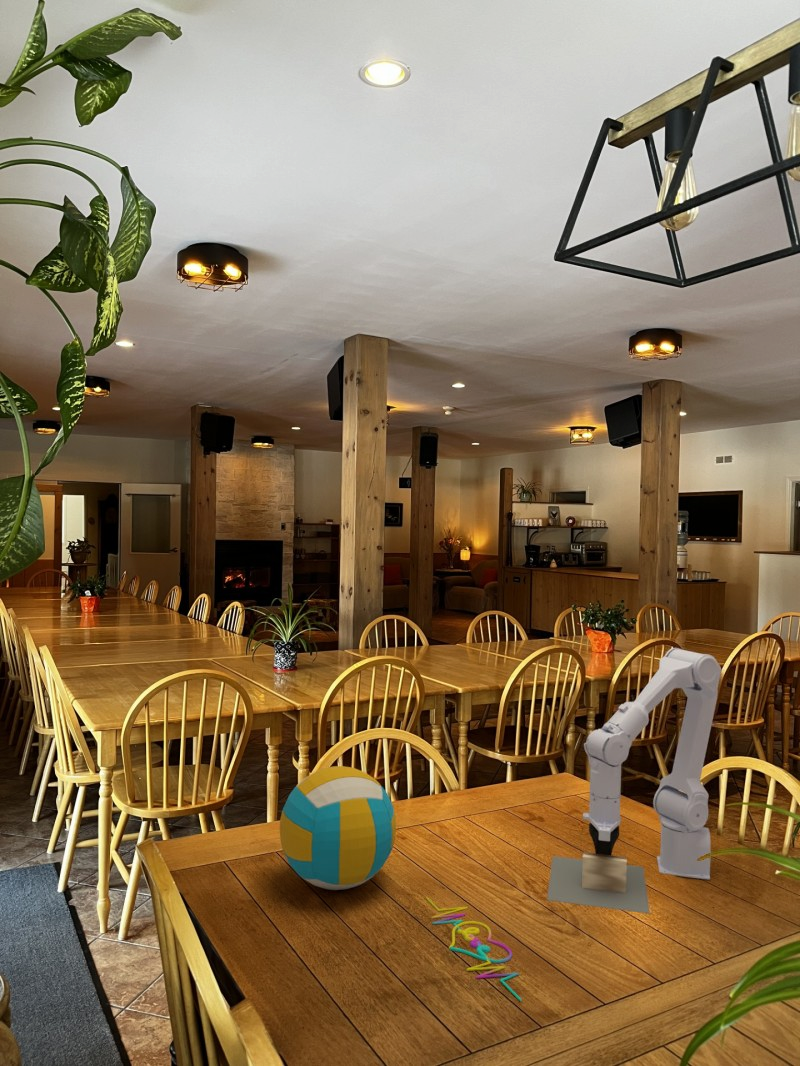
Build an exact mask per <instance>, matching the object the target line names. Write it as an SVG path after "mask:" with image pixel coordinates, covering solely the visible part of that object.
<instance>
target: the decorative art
mask: <svg viewBox="0 0 800 1066" xmlns="http://www.w3.org/2000/svg"><path fill="white" fill-rule="evenodd" d="M425 899H426V900H427V902H429V903H430V904H431V905H432V907H433V908H434V909H436V911H437V912H444V913H439V914H437V915H433V916H431V917H430V918H431V919H432V920H433V919H434V920H435V919H440V920H436V921H432V922H431V926H432V925H444V924H445V925H446V924H452V925H453V929H452V931H451V944H450V945H449V947H448V950H450V951H453V952H458V953H462V954H465V955H467V956H471V957H473V958H475V959H478V960H480V961H483V962H484V963H481V964H478V965H474V966H472V967H467V968H466V969H465V971H466V972H474V971H486V972H484V973H480V974H479V975H476V976H475V977H474V978H475V980H476V979H477V980H478V979H489V978H498V977H499V978H500V977H503V978H501V979H499V981H500V983H501V984H502V985H503V986H504V987H506V988H507V990H508V991H509V992H510V993H512V995H513V996H514V997H515V998H516V999H517V1000H518V1001H520V1002H522V1001H523V1000H522V998H521V997H520V996H519V995H518V994H517V993H516V992H515V991H514V990H513V989H512V988H511V987H510V986H509V984H507V983H506V982H505V981H507V980H509V979H513V978H514V977H517V976H519V975H520V972H510V973H509V972H508V973H497V974H493V973H495V972H499V971H502V970H504V969H505V967H506V966H504V965H500V966H498V965H497V966H489V965H491V964H502V963H507V962H509V961H510V960H511V959H512V957H513V952H512V950H511V949H510V948H509V947H508V946H507V945H505V944H504V943H501V942H499V941H497V940H494V939H492V930H491V928H490V927H489V926H488V925H487V924H485V923H484V922H480V921H474V920H472V921H471V920H468V921H467V920H466V921H464V920H463V919H459V918H461V917H462V918H463V917H465V916H466V913H458V912H461V911H463V910H467V909H469V906H460V907H458V906H457V907H450V908H439V907H438V906H437V905H436V904H435V903H434V902H433V901H432V900H431V899H430V898H429V897H428V896H426V897H425ZM454 913H456V914H454ZM443 918H444V919H443ZM455 919H456V920H455ZM467 925H475V926H476V925H478V926H481V927H482V928H483V927H484V928H485V929H486V930H487V932H488V937H487V939H486V940H487V942H488V943H491V944H494V945H496V946H498V947H501V948H502V949H504V950H506V952H507V953H508V956H507V957H505V958H502V959H501V958H500V959H493V958H489V957H488V955H487V954H486V953H488V954H489V953H490V951H491V948H490V946H488V945H486V944H482V942H481V941H480V939H479V938H478V937H476V936H478V935H479V934H480V932H481V931H480V928H478V927H475V926H470V927H467V928H465V929H462V928H461V927H462V926H467ZM456 934H458V935H461V936H462V938H464V940H465V942H467V943H469V946H470V947H471V948H473V949H476V953H477V954H476V953H474V952H472V951H469V950H466V949H463V948H459V947H454V946H455V944H456ZM487 970H488V971H487Z"/></svg>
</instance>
